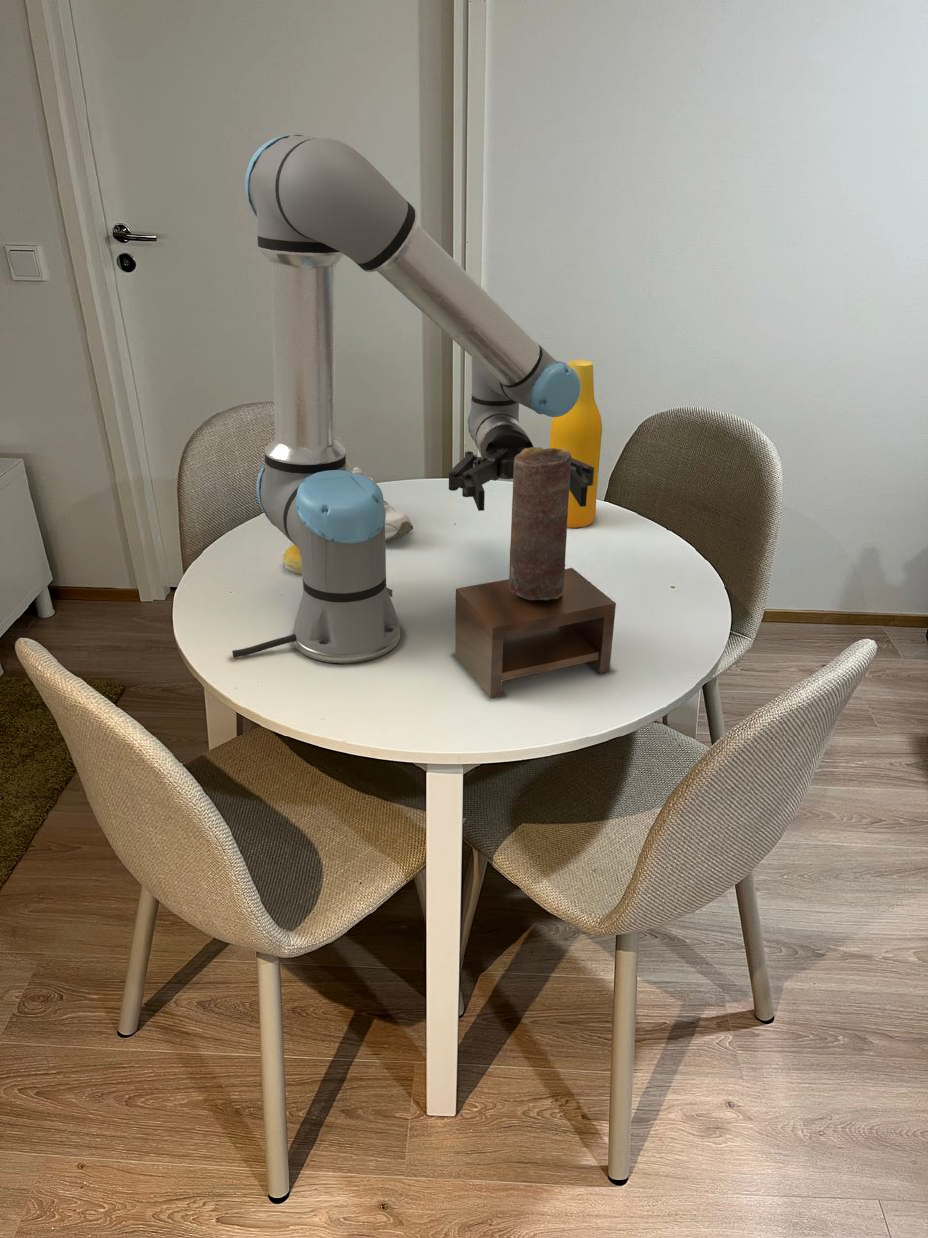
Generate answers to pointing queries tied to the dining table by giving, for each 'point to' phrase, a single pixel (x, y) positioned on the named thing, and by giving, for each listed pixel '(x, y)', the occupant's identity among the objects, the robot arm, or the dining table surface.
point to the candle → (539, 523)
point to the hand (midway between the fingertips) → (533, 499)
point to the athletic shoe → (392, 518)
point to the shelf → (531, 630)
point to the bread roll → (293, 560)
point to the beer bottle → (581, 441)
